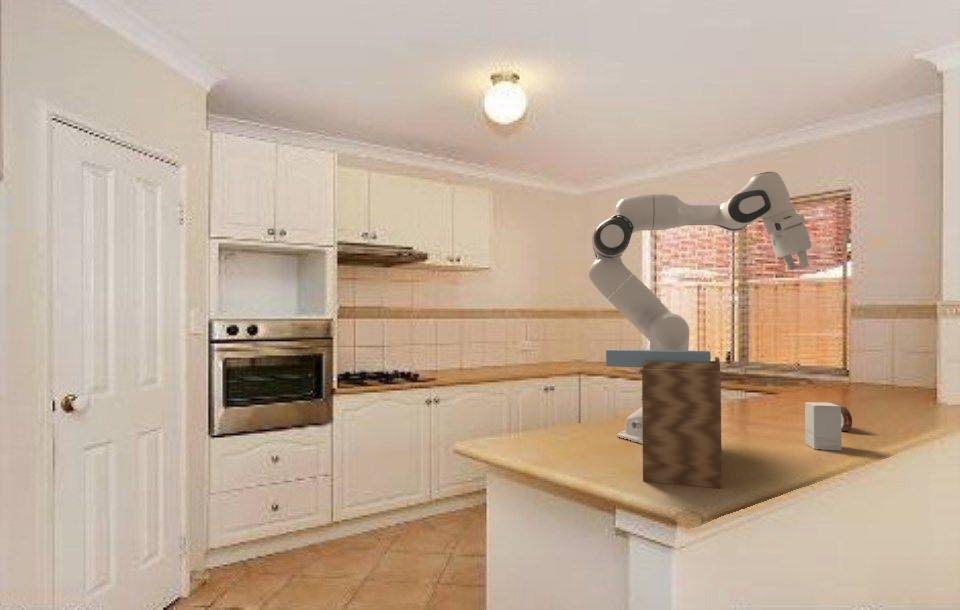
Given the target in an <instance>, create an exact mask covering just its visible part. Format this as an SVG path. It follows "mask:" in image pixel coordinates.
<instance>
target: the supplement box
mask: <svg viewBox="0 0 960 610" xmlns="http://www.w3.org/2000/svg"><path fill="white" fill-rule="evenodd" d="M833 403H834V402H832V403H828V402H826V401H825V402H824V401H821V402H817V401H816V402H812V401H811V402H808V401H806V402H804V421H805V422H804V425H805V426H804V427H805V428H804V431H805V438H804V439H805V442H804V443H805V445H806V446H808V447H810V448H811V449H813V450H818V449H821V450H820V451H842V431H841V406H838V405H836V404H837V403H835V404H833Z"/></svg>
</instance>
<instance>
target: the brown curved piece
mask: <svg viewBox="0 0 960 610" xmlns="http://www.w3.org/2000/svg"><path fill="white" fill-rule="evenodd" d="M827 403H833V404H836V405H838V406H841V432H849V431H850V430H851V429H852V426H853V417H852V415H851V411H850V410H849V408H847V406H845V405H841V404H839V403H835V402H832V401H829V402H827Z"/></svg>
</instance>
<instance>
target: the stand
mask: <svg viewBox="0 0 960 610" xmlns="http://www.w3.org/2000/svg"><path fill="white" fill-rule="evenodd" d="M720 360H721V359H720V358H719V357H718V356H715V357H714V361H713V360H711V363H684V362H646V361H644V362H643V367H642V369H641V383H642V384H641V385H642V386H641V389H642V391H641V395H642V396H641V399H642V400H641V403H642V405H641V407H642V427H643V444H642V482H650V483H659V484H660V483H661V484H671V485H679V486H681V485H683V486H689V487H690V486H693V487H703V488H713V489H722V487H723V486H722V485H723V482H722V481H723V480H722V479H723V478H722V477H723V476H722V474H723V473H722V472H723V470H722V464H723V463H722V462H723V461H722V384H721V383H722V376H721V375H722V373H721V372H722V371H721V361H720Z"/></svg>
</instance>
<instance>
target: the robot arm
mask: <svg viewBox="0 0 960 610" xmlns="http://www.w3.org/2000/svg"><path fill="white" fill-rule="evenodd" d="M790 198H791V197H790V193H789V190H788V188H787V186H786V184H785V181H784V180H783V177H781V175H780V174H779V173H778V172H776V171H765V172H761V173H759V174H755V175H753V176H752V177H750V179H749V181H748V182H747V183H746V184H745V185H744V186H743V187H742V188H741V189H740V190H738V192H737V193H735V194H734V195H733V196H731V197H730V198H729V199H728V200H726V201H724V202H721V203H719V204H718V203H717V204H688V203H685V202H684V201H682V200H681V199H680V198H679V197H678V196H677V195H674V194H665V193H649V194H648V193H646V194H638V195H632V196H627V197H624V198H621V199H619V201H618V202H617V204H616V206H615V208H614V215H612V216H610V217H609V218H607V219H606V220H604V221H601V223H599V225H597V227H596V228H595V230H594V231H593V233H592V237H591V240H592V241H591V242H592V248H593V251H594V254H595V258H596V259H595V260H594V261H593V262H592V263H591V265H590V267H589V270H588V277H589V279H590V280H591V282H592V283H593V285H594V287H595V288H596V289H597V290H598V291H599V292H600V294H602V296H603V297H604V298H605V299H607V301H608V302H609V303H611V304H612V306H614V307H615V308H616V310H618V311H619V312H620V314H622V315H623V316H624V317H625V318H626V319H627V320H628V321H629V322H630V323H631V324H632V325H633V326H634V327H635V328H636V329H637V331H639V332H640V333H641V335H643V336H644V337H645V338H646V339H647V340H648V341H649V350H676V351H689V349H690V348H689V347H690V326H689V324H688V322H687V321H686V320H685V319H684V318H683V317H682V316H681V315H679V314H677V313H673V312H672V311H671V310H669V309H668V308H667V306H665V304H664V303H663V302H662V301H661V300H660V299H659V298H658V297H657V295H655V294H654V292H653V291H652V290H651V289H650V288H648V286H647V285H645V283H644V282H643V281H642V280H641V279H639V278H638V276H636V275H635V274H634V273H633V272H631V270H629V269H628V268H627V266H626V265H625V264H624V263H623V259H622V255H623V254H624V253H625V251H626V250H627V249H628V247H629V244H630V242H631V238H632V235H633V234H634V233H636V232H641V231H663V230H664V231H665V230H669V229H675V228H679V227H685V226H716V227H720V228H723V229H725V230H728V231H732V232H735V231H736V232H737V231H741V230H743V229H745V228H747V226H748V225H750V224H753V222H755V221H756V220H757V219H759V218H760V219H761V220H762V223H763V224H764V226H765V227H764V228H765V229H766V233H767V235H768V236H769V240H770V243H771V246H772V250H773V253H774V255H775V257H776V258H777V259H780V258H782V259H783V262H784V263H785V264H786V265H787V267H788V269H789V271H794V270H796V269H797V268H798V267H797V264H796V262H794V260H793V255H794V254H796V256H797V258H798V261H799V262H798V265H799V266H800V268H801V269H803V268H807V267H809V266H810V264H809V261H808V253H807V250H810V249H811V248H812V241H811V237H810V235H809V232H808V229H807V226H806V224H805V223H806V219H805V216H804V215H803V214H799V213H798V212H797V210H796V209H795V207H794V205H793V204H792V201H791V199H790ZM640 401H642V398H641V399H640ZM617 436H618V437H617V438H619V437H620V439H623V438H624V439H623V440H626V439H628V440H627V441H630V440H631V442H634V443H637V442H638V444H641V445H643V427H642V406H641V407H639V408H638V409H637V410H636V411H634V412H633V413H631V414H630V415H628V416H627V417H626V421H625V425H624V430H622V431H619V432H618V433H617Z"/></svg>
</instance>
